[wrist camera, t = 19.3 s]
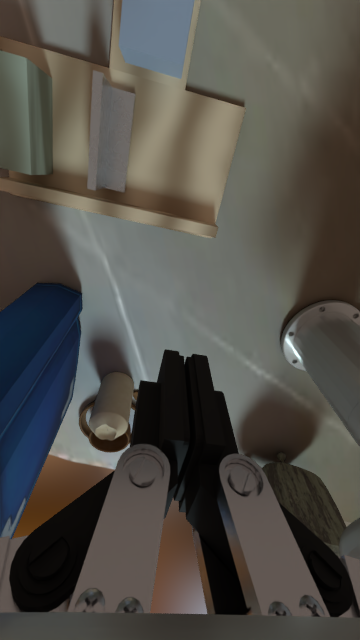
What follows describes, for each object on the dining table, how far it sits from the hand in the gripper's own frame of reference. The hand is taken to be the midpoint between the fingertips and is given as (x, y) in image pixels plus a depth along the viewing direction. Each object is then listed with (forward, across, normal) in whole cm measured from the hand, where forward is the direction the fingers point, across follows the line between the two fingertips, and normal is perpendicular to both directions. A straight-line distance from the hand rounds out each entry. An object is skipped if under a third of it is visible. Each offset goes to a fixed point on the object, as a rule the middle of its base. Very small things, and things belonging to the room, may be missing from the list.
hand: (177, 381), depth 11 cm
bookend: (+26, +9, -8) cm, 29 cm away
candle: (+27, +4, +26) cm, 38 cm away
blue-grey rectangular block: (+26, +5, -20) cm, 33 cm away
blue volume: (+27, +14, +19) cm, 36 cm away
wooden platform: (+27, +7, -8) cm, 29 cm away
